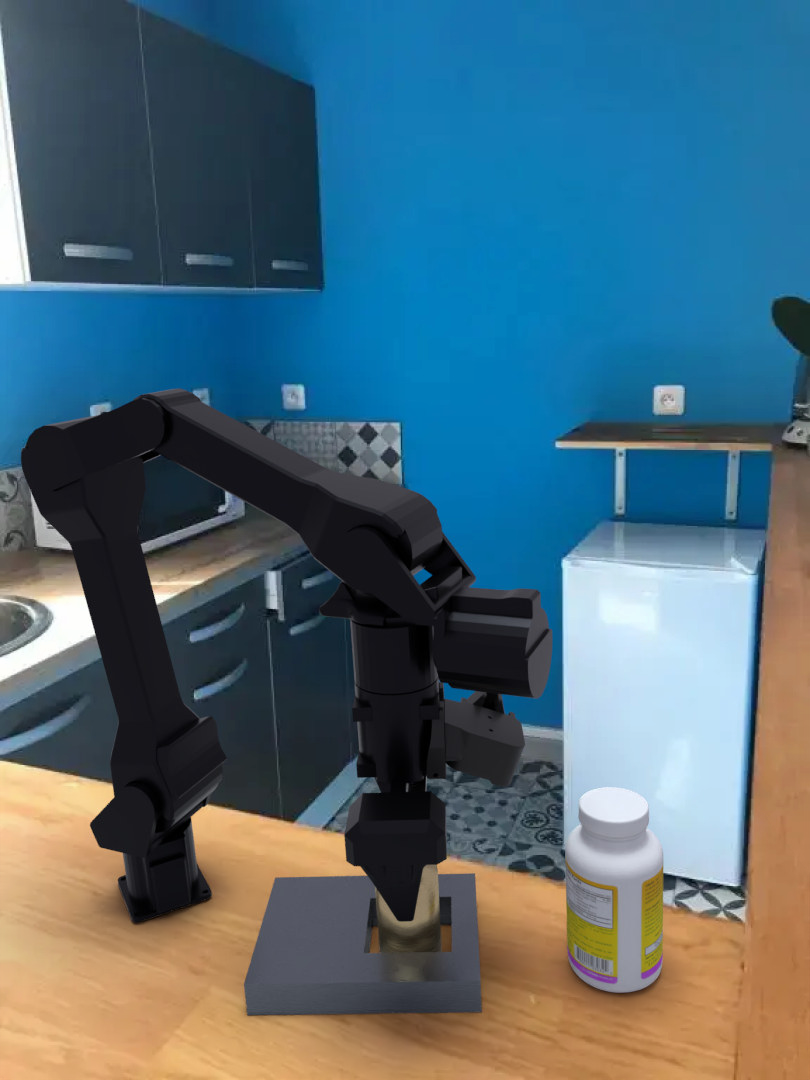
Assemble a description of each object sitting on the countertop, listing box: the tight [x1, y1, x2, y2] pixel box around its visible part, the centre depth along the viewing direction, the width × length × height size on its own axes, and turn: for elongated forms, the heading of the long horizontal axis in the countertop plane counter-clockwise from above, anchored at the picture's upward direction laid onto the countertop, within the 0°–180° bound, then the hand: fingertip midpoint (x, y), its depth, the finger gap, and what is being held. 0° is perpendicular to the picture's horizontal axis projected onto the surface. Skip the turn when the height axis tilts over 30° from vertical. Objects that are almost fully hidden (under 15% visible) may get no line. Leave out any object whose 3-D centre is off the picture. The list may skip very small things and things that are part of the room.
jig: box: [243, 872, 483, 1016], centre depth 69 cm, size 16×12×2 cm
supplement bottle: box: [564, 786, 664, 994], centre depth 65 cm, size 7×7×13 cm
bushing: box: [375, 865, 443, 953], centre depth 68 cm, size 5×5×7 cm
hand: (408, 878), depth 67 cm, fingers open, 9 cm apart
